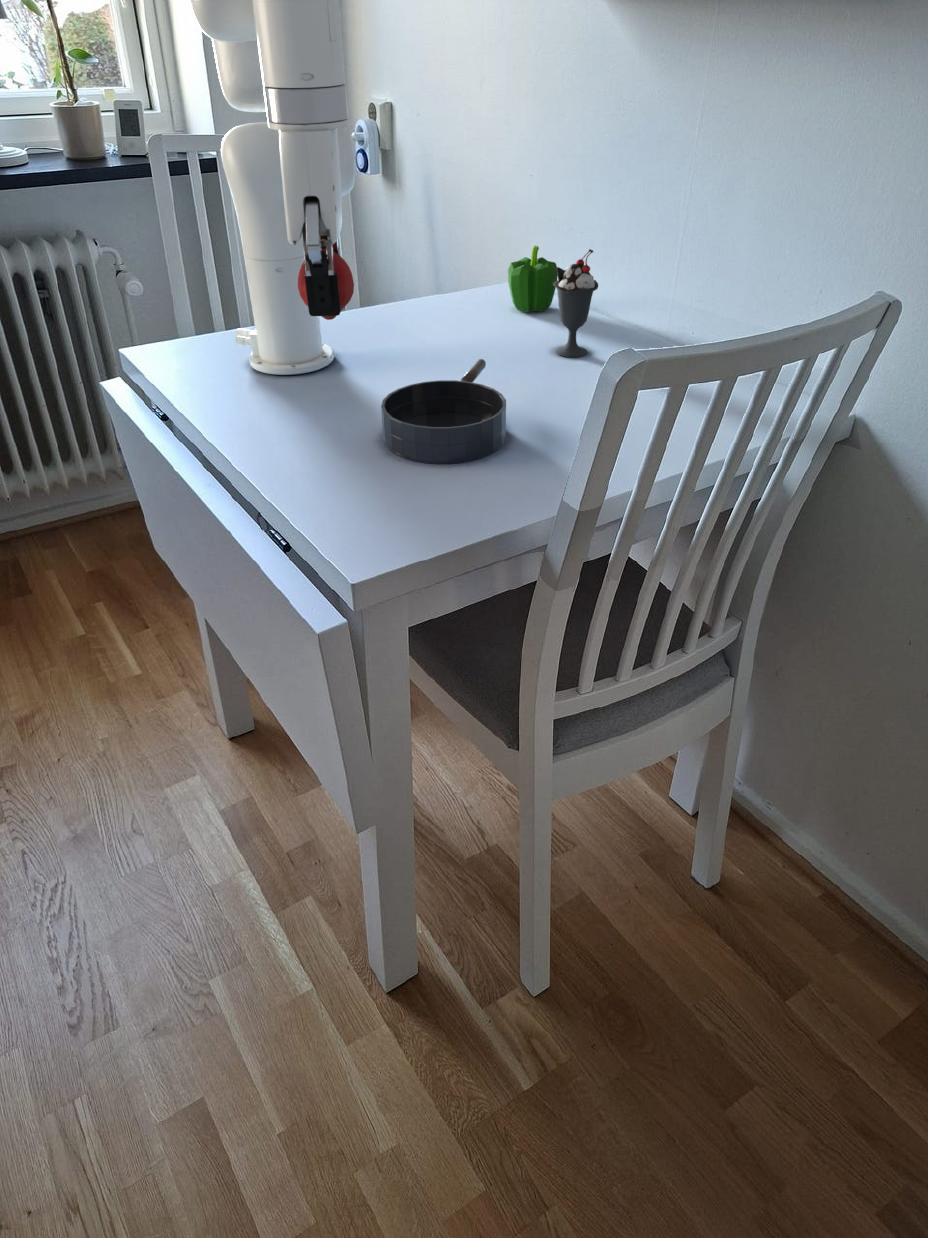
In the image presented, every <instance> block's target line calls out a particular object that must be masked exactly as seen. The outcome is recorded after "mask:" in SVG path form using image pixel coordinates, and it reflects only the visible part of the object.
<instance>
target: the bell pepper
mask: <svg viewBox="0 0 928 1238" xmlns="http://www.w3.org/2000/svg"><path fill="white" fill-rule="evenodd" d="M539 249H540V247H539V246H538V245H533V246H532V249H531V257H530V258H529V257H526V256H524V257H523V258H521V259H519V260H517V261H513V262H510V264H509V267H508V269H507V281H508V288H509V293H510V297H511V300H512V303H513V306H514V307H515V309H516V310H517V311H519V312H524V313H525V312H526V313H527V312H545V311H547V310H549V308H550V306H551V305H552V303H553V299H554V296H555V294H556V293H555V292H556V290H557V288H556V287H555V286H554V285H553V282H554V281H558V275H557V269H556V268H557V267H558V266H557V263H556V262H554V261H550V260H548V259H546V258H544V257H543V256H542V257H538V252H539Z"/></svg>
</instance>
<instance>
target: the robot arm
mask: <svg viewBox="0 0 928 1238" xmlns="http://www.w3.org/2000/svg"><path fill="white" fill-rule="evenodd" d="M188 3H189V6H190V10H191V13H192V16H193V19H194V20H195V22H196V24H197V26H198V27H199V29H200V30H201V31H202V33H204V34H205V35H206V36H207V37H209V38H210V39H211V41H212V42H211V43H212V47H213V52H214V59H215V64H216V70H217V74H218V79H219V84H220V88H221V91H222V94H223V96H224V98H225V100H226V101H227V103H228V105H229V106H230V107H232V108H233V109H235V110H236V111H241V112H246V113H249V112H250V113H265V112H266V117H267V121H260V122H258V121H257V122H249V123H244V124H240V125H237V126H235V127H233V128H231V129H230V130H229V131H228V132H227V133H226V134H225V135H224V137H223V138H222V141H221V145H220V146H221V148H220V155H221V156H220V157H221V163H222V167H223V171H224V174H225V177H226V182H227V184H228V188H229V190H230V195H231V199H232V202H233V207H234V210H235V214H236V219H237V224H238V228H239V235H240V241H241V247H242V253H243V258H244V264H245V271H246V277H247V283H248V291H249V297H250V303H251V309H252V316H253V323H254V329H250V328H243V327H242V328H241V327H240V328H237V329H236V332H235V344H236V345H237V346H239V347H240V346H241V347H250V349H251V353H250V354H249V356H248V359H249V365H250V367H251V368H252V369H253V370H255V371H257V372H260V373H263V374H268V375H277V376H292V375H301V374H306V373H312V372H316V371H318V370H321V369H324V368H325V367H328V366H329V365H330V364H331V363H332V362H333V361H334V358H335V355H334V349H333V348H332V347H331V346H330V345H328V344H326V343H323V339H322V331H321V320H320V317H321V316H336V317H337V316H340V314H341V312H342V310H341V308H340V297H339V287H338V276H337V274H334V261H333V251H334V252H336V253H337V254H338V255H340V247H339V246H340V245H339V238H340V235H341V231H342V227H343V197H344V196H347V195H348V194H349V193H351V192H352V190H353V188H354V186H355V182H356V169H357V168H356V158H355V151H354V149H355V148H354V142H353V135H352V128H351V127H352V126H351V120H350V115H349V107H348V100H347V99H348V96H347V85H346V74H345V73H346V72H345V61H344V46H343V36H342V25H341V16H342V12H343V0H188ZM321 239H325V240H326V241H321ZM322 249H326V250H327V254H326V253H325V251H322ZM304 260H305V272H306V274H305V283H306V292H307V300H308V306H307V305H306V304H305V303H304V302H303V300H302V298H301V297H300V294H299V290H298V274H299V269H300V267H301V264H302V263H303V261H304Z"/></svg>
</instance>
